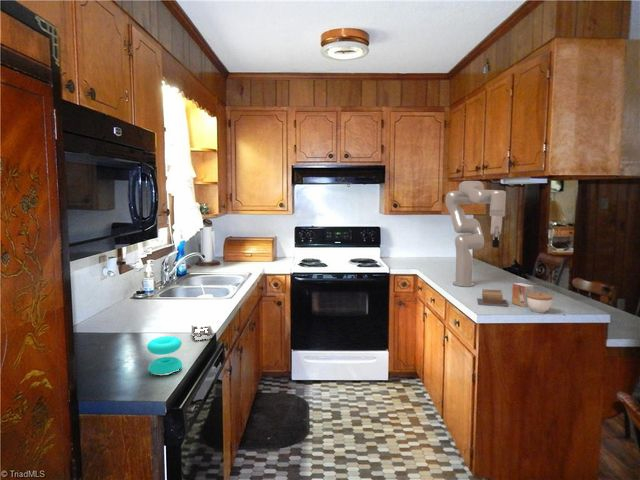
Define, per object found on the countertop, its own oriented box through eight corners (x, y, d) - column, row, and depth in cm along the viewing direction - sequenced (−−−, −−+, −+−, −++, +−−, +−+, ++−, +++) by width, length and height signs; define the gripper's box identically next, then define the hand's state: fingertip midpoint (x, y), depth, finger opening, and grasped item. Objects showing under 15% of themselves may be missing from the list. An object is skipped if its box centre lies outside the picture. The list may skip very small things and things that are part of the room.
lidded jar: (550, 315, 196) (551, 295, 195) (525, 312, 201) (526, 292, 200) (552, 310, 205) (553, 291, 204) (527, 307, 210) (528, 288, 209)
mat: (477, 299, 227) (477, 298, 227) (505, 301, 223) (505, 300, 223) (478, 304, 216) (478, 303, 216) (508, 306, 211) (508, 305, 211)
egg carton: (191, 334, 171) (190, 324, 170) (210, 332, 173) (210, 322, 173) (193, 343, 161) (192, 332, 160) (213, 340, 163) (213, 330, 163)
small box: (511, 303, 218) (512, 283, 217) (520, 302, 220) (520, 282, 219) (524, 307, 211) (525, 286, 210) (532, 306, 213) (533, 285, 211)
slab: (482, 289, 228) (483, 293, 217) (500, 290, 225) (502, 295, 214) (482, 297, 228) (483, 302, 217) (500, 298, 226) (502, 304, 214)
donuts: (187, 335, 137) (170, 346, 127) (188, 366, 138) (172, 378, 128) (158, 334, 139) (140, 344, 129) (159, 364, 140) (141, 376, 130)
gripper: (489, 212, 238) (487, 245, 240) (490, 214, 224) (488, 248, 226) (504, 212, 235) (502, 245, 237) (505, 214, 221) (503, 249, 223)
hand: (495, 247), depth 232 cm, fingers closed
